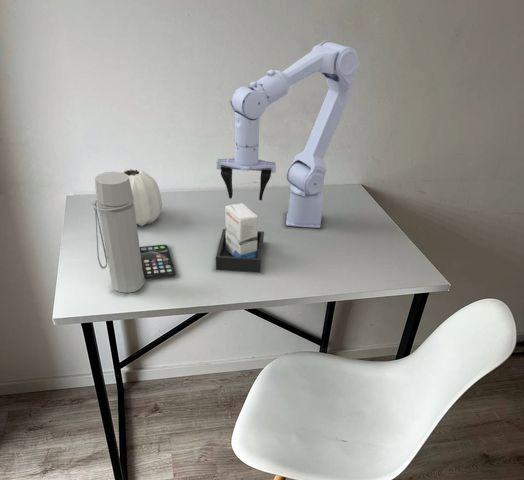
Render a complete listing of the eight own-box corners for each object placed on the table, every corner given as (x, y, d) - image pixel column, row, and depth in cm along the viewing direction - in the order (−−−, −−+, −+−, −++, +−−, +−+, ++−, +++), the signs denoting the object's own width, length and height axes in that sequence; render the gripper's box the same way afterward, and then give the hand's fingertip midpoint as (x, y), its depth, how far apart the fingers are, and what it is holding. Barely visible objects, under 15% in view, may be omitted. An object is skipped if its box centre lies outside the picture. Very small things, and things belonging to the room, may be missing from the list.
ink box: (257, 260, 127) (259, 216, 120) (239, 264, 125) (240, 220, 118) (241, 245, 133) (242, 201, 125) (224, 249, 131) (224, 205, 123)
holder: (263, 243, 135) (264, 231, 133) (259, 272, 124) (260, 260, 122) (223, 241, 135) (223, 228, 133) (216, 269, 124) (215, 257, 122)
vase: (102, 217, 142) (94, 169, 134) (146, 205, 150) (141, 158, 141) (128, 236, 135) (121, 186, 126) (173, 222, 142) (169, 174, 134)
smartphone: (167, 244, 131) (176, 274, 120) (167, 246, 132) (176, 276, 121) (137, 247, 129) (144, 277, 118) (137, 249, 130) (144, 280, 119)
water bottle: (145, 276, 120) (132, 170, 104) (143, 295, 115) (129, 185, 98) (105, 277, 119) (85, 170, 103) (101, 296, 113) (80, 186, 97)
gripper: (214, 147, 120) (215, 202, 129) (276, 151, 120) (273, 206, 129) (218, 137, 126) (218, 191, 134) (277, 141, 125) (274, 194, 134)
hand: (245, 197), depth 132 cm, fingers open, 7 cm apart
